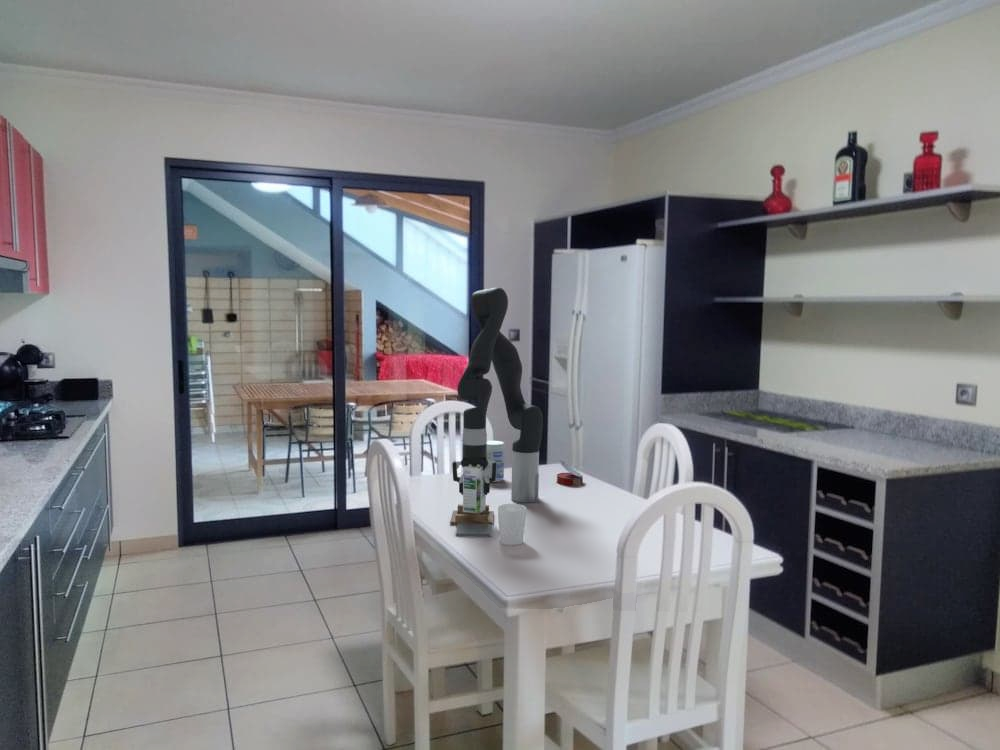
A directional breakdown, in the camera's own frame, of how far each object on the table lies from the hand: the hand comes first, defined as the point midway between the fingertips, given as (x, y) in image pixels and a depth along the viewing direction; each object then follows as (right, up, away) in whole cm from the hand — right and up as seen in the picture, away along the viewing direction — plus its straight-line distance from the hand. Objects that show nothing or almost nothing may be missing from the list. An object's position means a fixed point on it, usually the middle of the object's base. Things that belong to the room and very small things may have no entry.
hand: (474, 494), depth 227 cm
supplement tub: (+5, -3, +54) cm, 54 cm away
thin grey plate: (0, -9, -11) cm, 14 cm away
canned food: (+35, -4, +51) cm, 62 cm away
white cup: (+11, -10, -20) cm, 25 cm away
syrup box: (0, -5, +1) cm, 5 cm away
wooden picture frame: (-1, -8, +1) cm, 8 cm away
